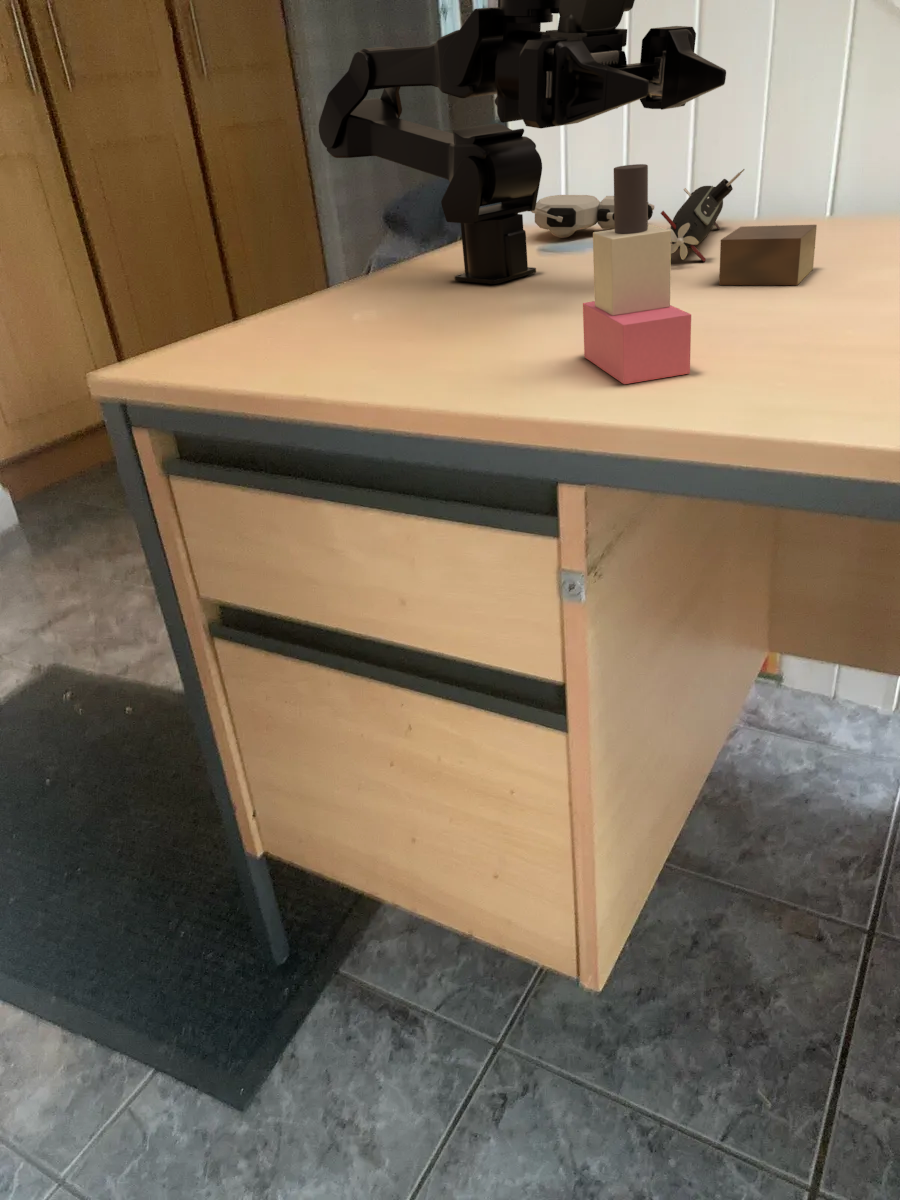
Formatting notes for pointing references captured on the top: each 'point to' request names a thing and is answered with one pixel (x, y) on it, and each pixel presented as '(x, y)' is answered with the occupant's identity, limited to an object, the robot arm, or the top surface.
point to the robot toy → (575, 213)
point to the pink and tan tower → (634, 292)
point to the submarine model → (697, 216)
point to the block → (767, 255)
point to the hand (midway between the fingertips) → (686, 82)
